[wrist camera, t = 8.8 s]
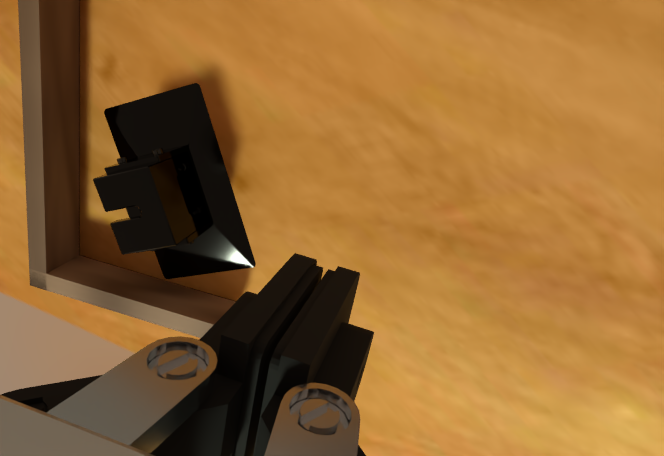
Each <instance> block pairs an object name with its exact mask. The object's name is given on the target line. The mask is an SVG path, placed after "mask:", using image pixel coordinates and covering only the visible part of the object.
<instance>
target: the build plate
mask: <svg viewBox="0 0 664 456" xmlns="http://www.w3.org/2000/svg"><path fill="white" fill-rule="evenodd" d="M104 114H105V117H106V119H107V122H108V125H109V127H110V130H111V133H112V136H113V138H114V141H115V144H116V147H117V149H118V152H119V155H120V158H119V159H117V161H118V164H115V165H112V166H109V167H106V168H105V171H106V174H105V175H102V176H100V177H97V178H94V179H93V181H94V184H95V186H96V189H97V191H98V194H99V196H100V199H101V202H102V204H103V207H104V209H105V211H106V212H108V211H113V210H118V209H123V208H126V210H127V212H128V215H129V218H126V219H121V220H116V221H114V222H112V223H111V224H110V225H111V227H112V230H113V232H114V235H115V238H116V240H117V243H118V245H119V248H120V250H121V253H122V254H123V255H124V254H129V253H135V252H136V253H138V252H144V251H149V250H151V251H155V254H156V256H157V259H158V262H159V265H160V267H161V270H162V273H163V276H164V277H165V278H166V279H172V278H179V277H187V276H194V275H201V274H208V273H215V272H222V271H230V270H237V269H244V268H251V267H254V266H255V265H256V264H255V260H254V257H253V254H252V251H251V247H250V244H249V241H248V238H247V235H246V231H245V228H244V225H243V222H242V219H241V216H240V212H239V209H238V206H237V203H236V200H235V196H234V193H233V190H232V187H231V184H230V180H229V177H228V174H227V171H226V168H225V165H224V161H223V158H222V155H221V152H220V149H219V145H218V142H217V139H216V136H215V133H214V129H213V126H212V123H211V120H210V117H209V114H208V110H207V107H206V104H205V101H204V98H203V94H202V91H201V88H200V85H199V84H197V83H194V84H191V85H187V86H184V87H180V88H177V89H173V90H170V91H167V92H163V93H160V94H156V95H153V96H149V97H146V98H142V99H139V100H135V101H132V102H129V103H125V104H122V105H118V106H115V107H111V108H108V109H105V111H104Z"/></svg>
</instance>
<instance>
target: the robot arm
mask: <svg viewBox="0 0 664 456" xmlns="http://www.w3.org/2000/svg"><path fill="white" fill-rule="evenodd" d="M316 265H317V261H316V259H312V258H309V257H306V256H303V255H299V254H296V253H295V254H294V255H293V256H292V257H291V258H290V259H289V260H288V261H287V262H286V263H285V265H284V266H283V267H282V268H281V269H280V270H279V271H278V272H277V273H276V275H275V276H274V277H273V278H272V279H271V280H270V281H269V282H268V283H267V284H266V286H265V287H264V288H263V289H262V290H261V291H260V292H259V293H258V294H254V293H251V292H246V293H244V294H243V295H242V296H241V297H240V298H239V299H238V300H237V301H236V302H235V303H234V304H233V305H232V306H231V307H230V309H229V310H228V311H227V312H226V313H225V314H224V315H223V316H222V317H221V318H220V319H219V320H218V321H217V322H216V323H215V324H214V325H213V326H212V327H211V328H210V329H209V330H208V331H207V332H206V333H205V334H204V335H203V337H202V338H201V339H200V340H197V339H194V338H188V337H168V338H164V339H160V340H157V341H155V342H153V343H151V344H149V345H147V346H146V347H144V348H143V349H141V350H140V351H138V352H137V353H135V354H134V355H132V356H131V357H129V358H128V359H126V360H125V361H123V362H122V363H120V364H119V365H117V366H116V367H114V368H113V369H111V370H110V371H108V372H107V373H105V374H104V375H100V376H94V377H88V378H82V379H76V380H71V381H65V382H59V383H53V384H47V385H41V386H36V387H29V388H24V389H19V390H15V391H11V392H7V393H4V394H2V395H0V456H366V455H365V454H364V452H363V451H362V449H361V448H360V447H359V445H358V439H359V428H360V414H359V410H358V408H357V406H356V404H355V402H354V400H355V397H356V394H357V391H358V388H359V385H360V381H361V378H362V375H363V371H364V368H365V365H366V361H367V357H368V354H369V350H370V346H371V342H372V339H373V334H374V332H373V331H370V330H366V329H363V328H360V327H357V326H354V325H351V324H348V322H349V318H350V314H351V310H352V306H353V302H354V298H355V293H356V289H357V285H358V281H359V276H360V273H359V272H356V271H352V270H349V269H346V268H342V267H339V266H338V267H337V269H336V270H335V271H332V270H329V269H328V271H327V272H326V274H325V275H324V276H323V278H322V279H321V277H322V272H323V268H322V267H319V266H316Z"/></svg>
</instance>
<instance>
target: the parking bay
mask: <svg viewBox="0 0 664 456" xmlns="http://www.w3.org/2000/svg"><path fill="white" fill-rule="evenodd" d="M18 9H19V33H20V57H21V81H22V105H23V129H24V153H25V176H26V200H27V224H28V248H29V272H30V285H31V286H34V287H37V288H41V289H44V290H47V291H50V292H54V293H57V294H60V295H63V296H66V297H70V298H73V299H76V300H79V301H83V302H86V303H89V304H92V305H96V306H99V307H102V308H105V309H109V310H112V311H115V312H118V313H121V314H125V315H128V316H131V317H134V318H138V319H141V320H144V321H147V322H151V323H154V324H157V325H160V326H164V327H167V328H170V329H173V330H176V331H180V332H183V333H186V334H189V335H193V336H196V337H199V338H202V337H203V335H204V334H205V333H206V332H207V331H208V330H209V329H210V328H211V327H212V326H213V325H214V324H215V323H216V322H217V321H218V320H219V319H220V318H221V317H222V316H223V315H224V314H225V313H226V312H227V311H228V310H229V309H230V307H231V306H232V305H233V304H234V303H235V301H232V300H228V299H225V298H222V297H218V296H215V295H212V294H208V293H205V292H201V291H198V290H195V289H191V288H188V287H185V286H181V285H178V284H174V283H171V282H168V281H164V280H161V279H157V278H154V277H151V276H147V275H144V274H141V273H137V272H134V271H130V270H127V269H124V268H120V267H117V266H113V265H110V264H107V263H103V262H100V261H97V260H93V259H90V258H86V257H83V256H80V255H79V36H80V0H18Z"/></svg>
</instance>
